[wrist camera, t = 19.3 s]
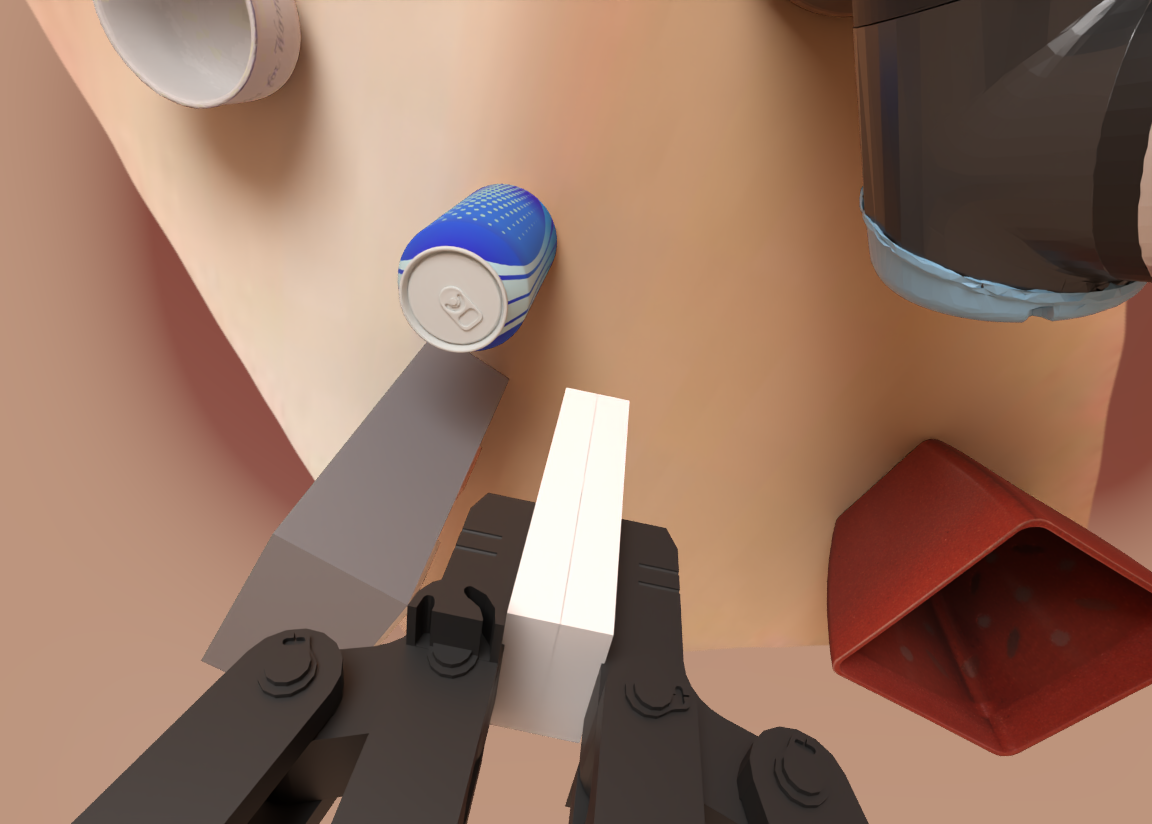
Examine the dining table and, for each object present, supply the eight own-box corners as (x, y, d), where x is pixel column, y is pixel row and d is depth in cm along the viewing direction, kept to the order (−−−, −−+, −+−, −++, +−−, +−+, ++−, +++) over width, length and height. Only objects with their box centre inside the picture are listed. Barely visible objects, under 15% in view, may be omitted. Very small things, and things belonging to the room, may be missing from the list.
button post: (509, 379, 55) (407, 605, 32) (440, 472, 62) (315, 714, 39) (435, 330, 54) (272, 533, 31) (373, 431, 60) (201, 660, 37)
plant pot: (930, 388, 51) (1039, 516, 37) (1087, 488, 55) (1243, 640, 40) (784, 525, 61) (825, 670, 46) (925, 603, 64) (1005, 760, 50)
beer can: (463, 282, 51) (394, 362, 37) (453, 179, 47) (372, 227, 33) (559, 286, 50) (525, 370, 37) (558, 182, 46) (519, 233, 32)
